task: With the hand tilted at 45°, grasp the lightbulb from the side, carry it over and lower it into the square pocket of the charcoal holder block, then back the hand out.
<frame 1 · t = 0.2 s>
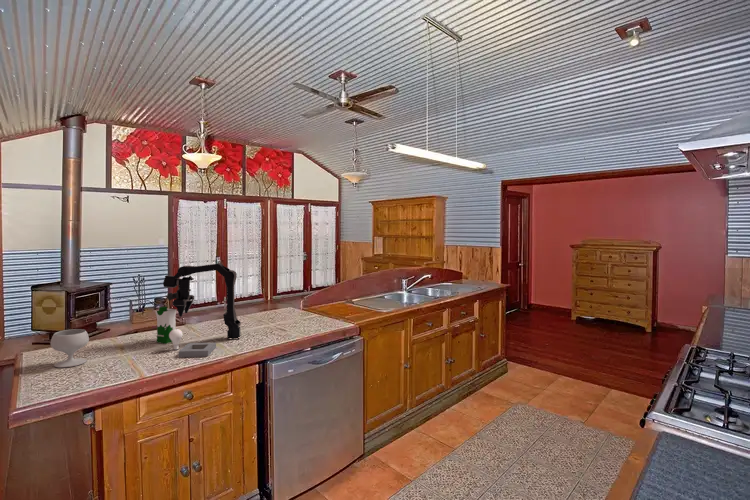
hand: (183, 314, 220), 14 cm above the counter, tool pointing down, fingers open, 9 cm apart
holder: (198, 352, 197), on the counter
chalice: (70, 364, 179), on the counter
lightbulb: (176, 350, 202), on the counter
milk carton: (166, 341, 216), on the counter
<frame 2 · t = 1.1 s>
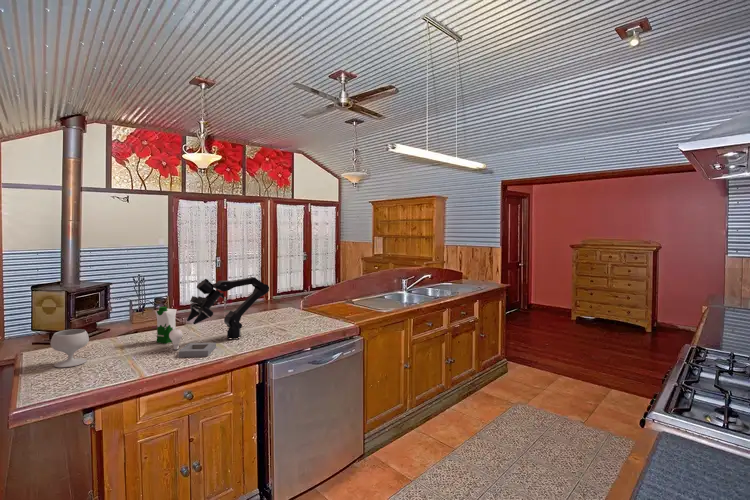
hand: (190, 322, 207), 13 cm above the counter, tool tilted 45°, fingers open, 9 cm apart
nothing on the counter moved.
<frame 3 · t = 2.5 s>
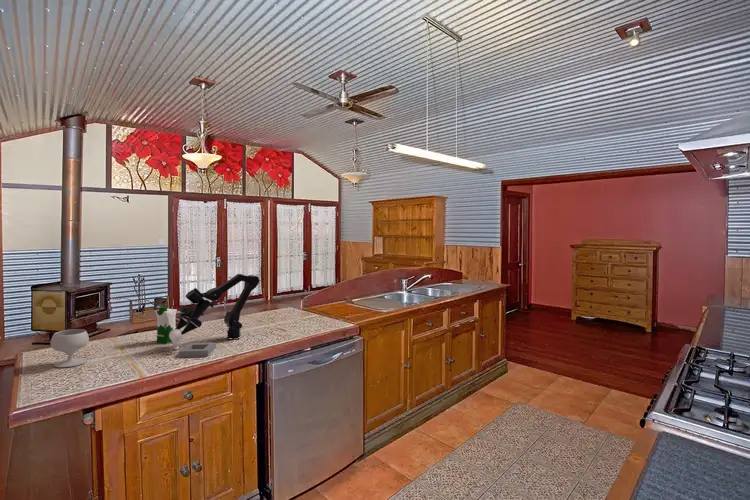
hand: (178, 332, 202), 9 cm above the counter, tool tilted 45°, fingers open, 9 cm apart
nothing on the counter moved.
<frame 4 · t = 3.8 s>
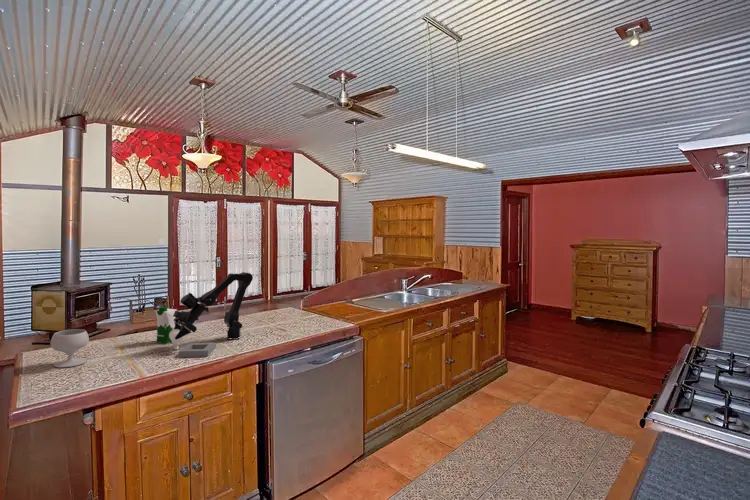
hand: (173, 337, 200), 7 cm above the counter, tool tilted 45°, fingers closed on lightbulb, 6 cm apart
lightbulb: (176, 350, 202), on the counter, touching gripper
everything else where it was.
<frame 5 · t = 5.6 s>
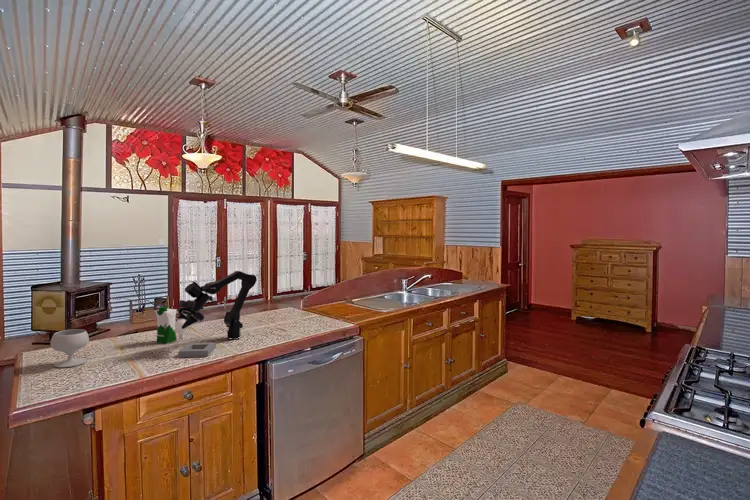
hand: (179, 327, 198), 13 cm above the counter, tool tilted 45°, fingers closed on lightbulb, 6 cm apart
lightbulb: (181, 339, 200), point 6 cm above the counter, touching gripper
everything else where it was.
when the fingers open (8 cm above the counter, at t = 7.8 s): lightbulb drops 1 cm, resting on holder.
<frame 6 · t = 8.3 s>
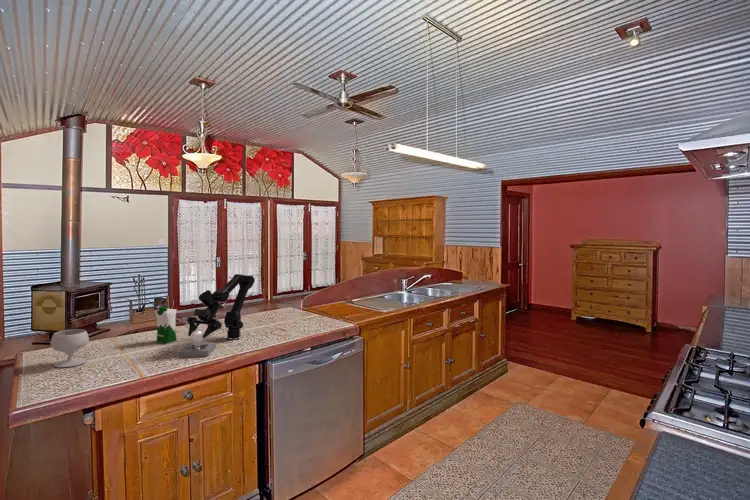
hand: (195, 336, 196), 9 cm above the counter, tool tilted 45°, fingers open, 9 cm apart
lightbulb: (197, 351, 197), resting on holder
everything else where it was.
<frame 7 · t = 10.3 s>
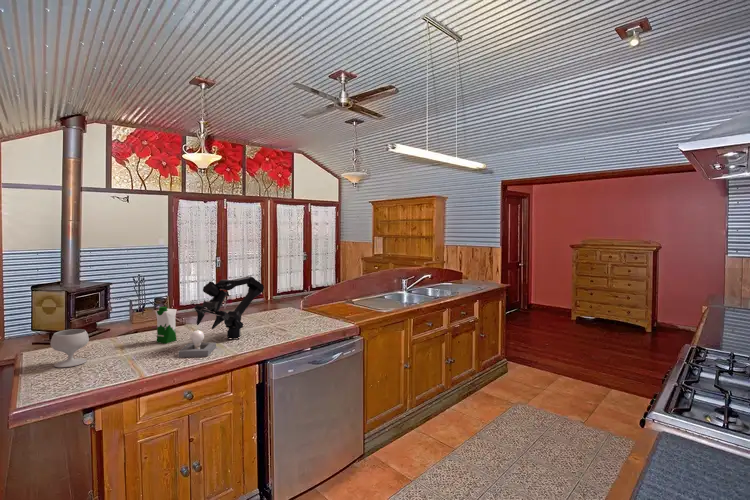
hand: (204, 326, 206), 11 cm above the counter, tool tilted 35°, fingers open, 9 cm apart
nothing on the counter moved.
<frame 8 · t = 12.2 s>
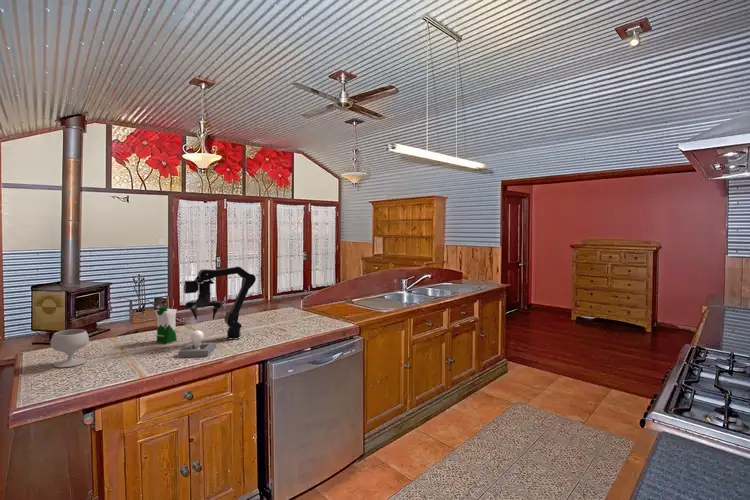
hand: (204, 319, 214), 13 cm above the counter, tool pointing down, fingers open, 9 cm apart
nothing on the counter moved.
at the end: lightbulb 0.4 cm off-centre on the holder, point 0.3 cm above the holder's base; lightbulb tilted 0°; the gripper is holding nothing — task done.
